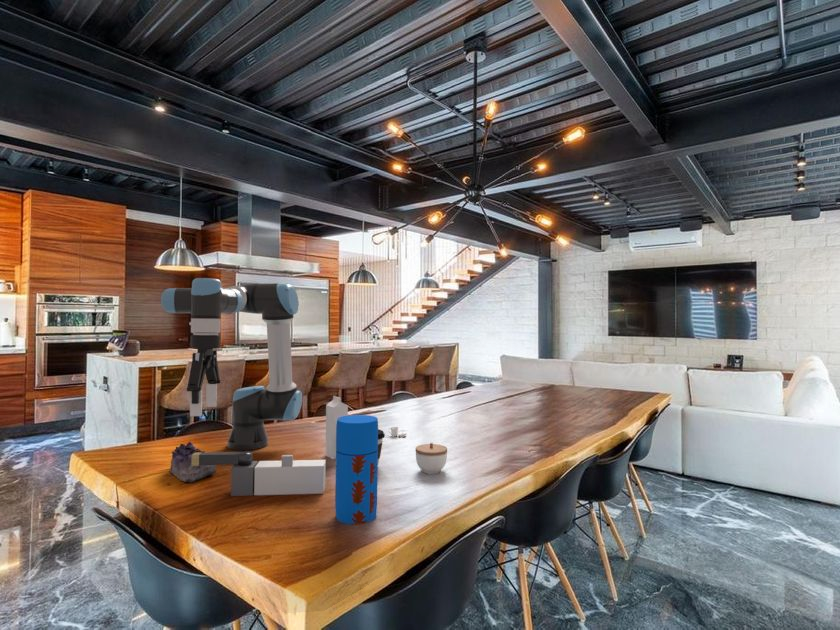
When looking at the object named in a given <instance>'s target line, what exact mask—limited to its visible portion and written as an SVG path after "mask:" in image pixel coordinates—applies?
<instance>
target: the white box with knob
mask: <svg viewBox="0 0 840 630" xmlns="http://www.w3.org/2000/svg"><path fill="white" fill-rule="evenodd" d="M326 460H327V459H300V460H299V459H298V460H297V459H296V460H294V455H293V454H282V455H281V460H259V461H258V460H252V464H250V465H232V467H230V497H241V496H243V497H245V496H246V497H247V496H253V495H254V496H279V495H281V496H282V495H285V496H286V495H311V494H312V495H315V494H318V495H320V494H324V493H325V490H326V489H325V488H326V477H327V476H326V475H327V474H326V471H327V470H326V469H327V467H326V465H327V464H326V462H327V461H326Z"/></svg>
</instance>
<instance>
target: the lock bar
mask: <svg viewBox="0 0 840 630" xmlns="http://www.w3.org/2000/svg"><path fill="white" fill-rule="evenodd" d="M252 461H253V451H250V450H242V451H226V452H225V451H221V452H220V451H217V452H216V451H214V452H205V453H202V452H197V453H194V454H192V466H199V465H216V466H233V465H250V464H252Z"/></svg>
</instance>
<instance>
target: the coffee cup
mask: <svg viewBox="0 0 840 630" xmlns="http://www.w3.org/2000/svg"><path fill="white" fill-rule="evenodd" d="M384 438H386V434H385V433H384V431H383V430H382V429H379V428H378V464H379V463H380V458H381V454H382V447H383V442H384V441H383V439H384Z"/></svg>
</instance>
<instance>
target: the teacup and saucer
mask: <svg viewBox="0 0 840 630" xmlns="http://www.w3.org/2000/svg"><path fill="white" fill-rule="evenodd" d="M388 430H390V431H388V434H391V435H390V436H392V437H393V436H397V437H399V436H400V437H402V438H404V437H406V436H407V432H399V427H398V426H391V427H389V428H388ZM403 436H404V437H403Z"/></svg>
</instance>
